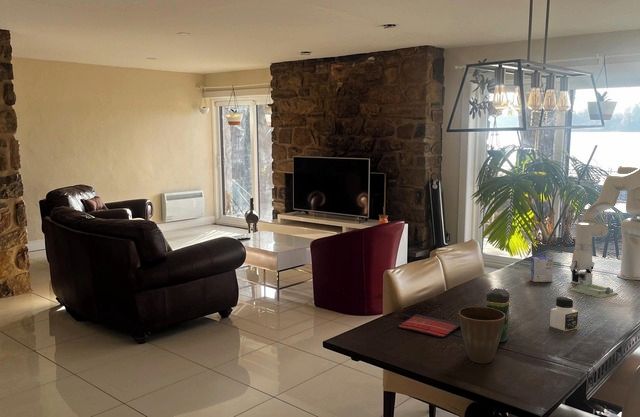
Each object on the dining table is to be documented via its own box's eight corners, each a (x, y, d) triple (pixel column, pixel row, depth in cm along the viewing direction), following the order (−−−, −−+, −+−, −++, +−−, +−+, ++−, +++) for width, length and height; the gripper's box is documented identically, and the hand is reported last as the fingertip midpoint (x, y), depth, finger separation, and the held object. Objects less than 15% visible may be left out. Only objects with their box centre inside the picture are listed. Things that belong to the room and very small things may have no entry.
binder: (416, 313, 232) (462, 323, 219) (416, 318, 233) (462, 329, 219) (395, 324, 220) (443, 336, 207) (395, 330, 221) (443, 342, 207)
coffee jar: (505, 344, 201) (506, 294, 198) (482, 341, 204) (484, 291, 202) (510, 336, 209) (511, 288, 207) (488, 333, 213) (489, 285, 211)
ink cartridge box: (548, 279, 293) (549, 252, 292) (552, 282, 288) (554, 254, 286) (529, 279, 294) (530, 252, 292) (533, 282, 288) (534, 254, 286)
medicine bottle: (565, 331, 214) (566, 301, 212) (549, 326, 220) (550, 296, 218) (577, 328, 217) (578, 298, 215) (562, 323, 223) (563, 294, 222)
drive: (576, 281, 289) (577, 270, 288) (592, 285, 281) (592, 273, 281) (571, 282, 287) (571, 270, 287) (586, 286, 279) (587, 274, 279)
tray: (587, 286, 278) (588, 279, 277) (617, 294, 263) (618, 286, 263) (571, 290, 272) (571, 282, 272) (600, 298, 258) (601, 289, 258)
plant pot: (511, 367, 181) (512, 319, 179) (466, 369, 180) (467, 321, 178) (493, 350, 195) (494, 306, 194) (451, 352, 194) (452, 307, 192)
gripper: (588, 244, 289) (586, 277, 291) (565, 247, 281) (563, 280, 283) (601, 246, 283) (599, 280, 285) (577, 249, 275) (576, 284, 277)
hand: (581, 280), depth 284 cm, fingers open, 8 cm apart
